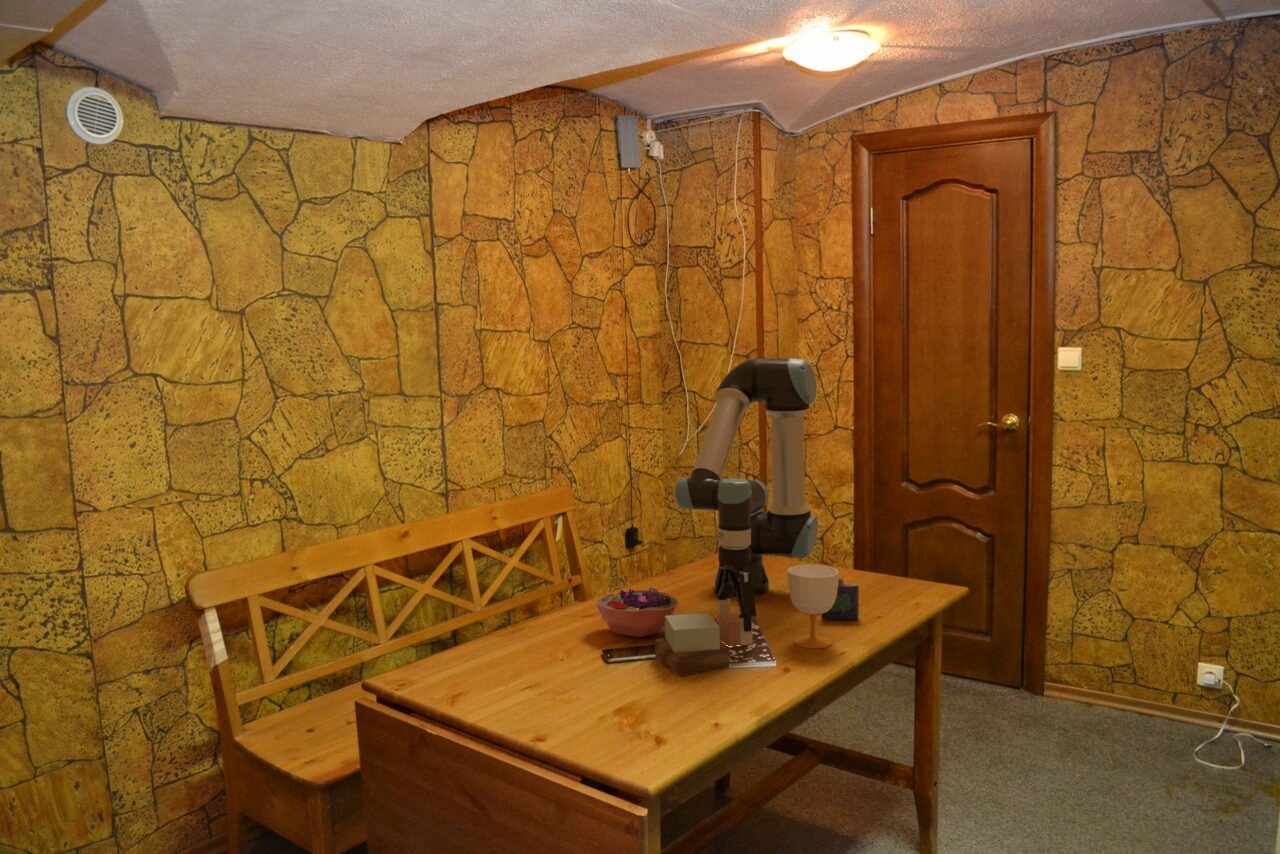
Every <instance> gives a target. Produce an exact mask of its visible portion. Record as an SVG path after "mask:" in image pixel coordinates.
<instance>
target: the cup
mask: <svg viewBox="0 0 1280 854" xmlns="http://www.w3.org/2000/svg"><path fill="white" fill-rule="evenodd" d="M839 574H840V572H839V570H838V569H837V568H835V567H831V566H828V565H824V564H823V565H822V564H809V563H808V564H807V563H806V564H798V565H794V566H791V567H789V568H788V569H787V580H788V581H787V583H788V592H789V596H790V600H791V603H792V604H793V606H794V608H795V609H796V610H798V611H799V612H801V613H802V614H804V615H808V616H809V617H810V632H809V633H810V634H802V635H797V636H795V638H793V643H794V645H796V646H798V647H801V648H805V649H811V650H812V649H816V650H818V649H826V648H828V647H830V646H831V645H833V640H832V639H831V638H829V637H827V636H824V635H819V634H816V617H817V616H820V615H821V614H823V613H826V612H827V611H828V610H830V609H831V607H832V606H833V604H834V603H835V600H836V596H837V590H838V580H839V578H840V575H839ZM821 616H822V615H821Z"/></svg>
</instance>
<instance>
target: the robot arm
mask: <svg viewBox="0 0 1280 854" xmlns="http://www.w3.org/2000/svg"><path fill="white" fill-rule="evenodd" d="M816 379H817V378H816V374H815V371H814V369H813V366H812V364H811V363H810V362H809V361H808V360H806V359H802V358H793V357H790V358H789V357H786V358H783V357H782V358H781V357H780V358H756V357H755V358H750V359H747V360H744V361H743V362H740V363H738V364H737V365H736V366H735V367H733V368H732V369H731V370H730V371H729V372H728V373H727V374H726V375H725V377H724V378H723V379H722V380H721V382H720V384H719V385H718V387H717V390H716V393H715V396H714V400H715V407H714V409H713V412H712V415H711V418H710V421H709V423H708V426H707V429H706V432H705V435H704V436H703V437H704V438H703V441H702V443H701V446H700V450H699V451H698V454H697V457H696V460H695V464H694V466H693V469H692V471H691V473H690V476H689V477H688V476H687V477H680V478H679V480H677V483H676V484H675V485H676V486H675V490H674V497H675V500H676V504H677V506H679V507H680V508H684V509H689V510H702V511H703V510H704V511H717V512H718V524H717V525H718V532H717V533H716V537H717V538H718V545H719V547H718V550H717V551H718V557H717V558H718V562H719V563H718V569H717V571H716V572H717V573H716V576H715V579H714V595H716V598H717V600H718V601H717V603H718V604H717V605H718V608H717V609H718V610H717V612H718V614H717V616H718V615H724V614H731V598H732V597H731V596H736V599H737V600H736V601H737V604H738V607H739V608H738V609H739V612H741V614H740V615H739V618H740V645H744V646H750V645H749V644H751V645H753V644H752V620H753V618H754V617H757V616H758V615H757V614H758V613H757V609H756V601H755V596H757V595H761V594H762V595H763V594H764V593H766V592H768V591H769V590H770V582H769V580H770V579H769V577H768V574H767V572H766V568H765V565H764V562H763V555H764V556H765V555H766V556H773V557H774V556H775V557H784V558H791V559H795V558H796V559H797V558H798V559H807V558H808V557H809V556H810V555H811V554H812V553H813V550H814V549H815V544H816V542H817V536H818V530H819V521H818V517H817V516H815V515H814V514H813V515H812V514H811V507H810V506H809V505H808V504H807V503H806V498H805V497H806V494H805V489H806V488H805V484H806V483H805V428H804V427H805V425H804V424H805V423H804V415H806V413H807V412H808V411H809V410H810V405H811V404H813V403H814V402H815V401H816V398H817V381H816ZM757 402H758V403H764V405H765V406H764V410H765V412H767V414H769V415H770V419H771V420H770V421H771V423H770V424H771V429H770V431H771V467H772V469H771V472H772V473H771V474H772V476H771V477H772V481H771V482H772V502H771V503H770V505H768V506H767V512H765V511H764V509H763V508H764V507H765V506H766V505H767V504H768V501H769V499H770V493H769V490H768V487H767V486H766V485H765V484H764V482H762V481H760V480H758V479H745V478H737V477H736V478H726V479H725V478H723V479H722V477H723V473H724V471H725V468H726V465H727V462H728V459H729V457H730V453H731V450H732V448H733V445H734V443H735V439H736V436H737V434H738V430H739V427H740V425H741V421H742V419H743V416H744V413H745V412H747V411H748V410H749V409H750V407H751V404H753V403H757Z"/></svg>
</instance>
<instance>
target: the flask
mask: <svg viewBox="0 0 1280 854" xmlns="http://www.w3.org/2000/svg"><path fill="white" fill-rule="evenodd" d="M844 581H845V580H844V577H840V576H839V579H838V590H837V596H836V600H835V603H834V604H833V606H832V607H831V609H830V610H828V611H827V612H826V613H823V614H821V620H822V621H825V622H826V621H828V622H841V621H842V622H849V621H852V622H853V621H858V620H859V617H860V615H859V614H860V613H859V608H860V607H859V602H860V601H859V599H860V598H859V597H860V593H859V591H860V589H859V588H860V587H859V586H860V585H859V584H858V583H845V582H844Z"/></svg>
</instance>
